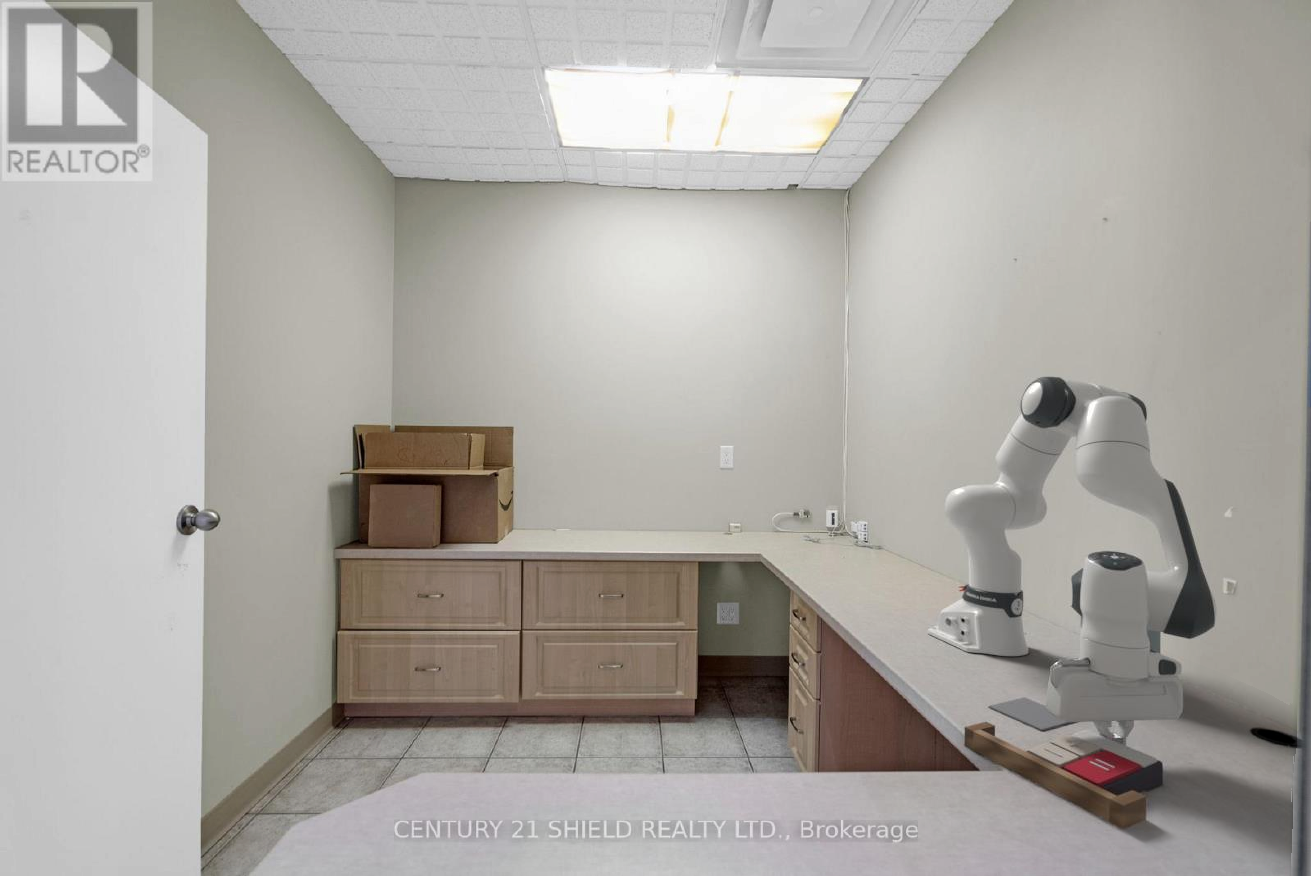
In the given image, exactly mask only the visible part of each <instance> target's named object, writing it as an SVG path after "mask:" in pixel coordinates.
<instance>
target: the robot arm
mask: <svg viewBox="0 0 1311 876" xmlns="http://www.w3.org/2000/svg"><path fill="white" fill-rule="evenodd" d="M1147 411H1148V410H1147V407H1146V405H1145V403H1144V401H1142V400H1141V399H1140V398H1139V397H1137V396H1134V395H1133V394H1131V393H1128V392H1125V391H1118V390H1115V389H1112V388H1110V387H1107V386H1103V385H1099V384H1096V383H1091V382H1090V383H1088V382H1083V381H1079V380H1070V379H1064V378H1062V377H1059V376H1057V377H1056V376H1040V377H1038V378H1036V379H1035V380H1033V381H1032V382H1031V383H1030V384H1029V385H1028V386H1027V387H1026V388H1025V390H1024V392H1023V394H1022V396H1021V399H1020V412H1021V413H1020V415H1019V416H1018V418H1017V419H1016V421H1015V422H1014V424H1013V425H1012V427H1011V429H1010V431H1009V432H1008V433H1007V436H1006V437H1005V439H1004V441H1003V443H1002V444H1001V446H1000V448H999V449H998V451H997V453H996V455H995V464H996V466H997V468H998V469H999V470H1000V474H999V478H998V479H997V481H995V482H994V483H993V484H970V485H965V486H962V487H958V488H955V489H953V490H951V491H950V492H949V493H948V494H947V496H946V498H945V501H944V512H945V516H946V518H947V520H948V521H949V523H950V524H951V525H952V526H953V527H954V528H956V529H957V530H958V532H959V533H960V534H961V538H962V539H963V542H964V544H965V547H966V550H967V558H968V583H967V584H965V585H961V586H958V588H960V589H958V591H959V592H963V594H962V596H961V598H960V599H958V600H957V601H955V602H954V603H953V602H952V603H951V604H949V605H948V606H946V607H944V608H943V609H942V610H941V611H940V614H939V615H938V619H937V620H938V621H937V625H934V626H931V627H929V628H928V629H927V634H928V635H931V637H932V636H933V637H935V638H936V639H939V640H941V641H942V642H945V643H948V644H949V645H952V646H953V647H956V648H958V649H960V650H962V651H964V652H967V653H975V654H987V655H994V656H999V657H1001V656H1002V657H1020V656H1025V655H1027V654H1029V647H1028V645H1027V641H1026V637H1025V631H1024V624H1023V610H1024V591H1023V590H1022V559H1021V556H1020V555H1019V554H1018V553H1017V552H1016V550H1013V549H1012V548H1011V546H1010V545H1009V542H1008V540H1007V537H1006V531H1009V530H1010V531H1013V530H1014V531H1015V530H1023V529H1027V528H1030V527H1034V526H1036V525H1038V524H1039V523H1041V522H1042V521H1044V519H1045V517H1046V514H1047V511H1048V510H1047V509H1048V508H1047V501H1046V499H1045V496H1044V495H1043V489H1044V486H1045V482H1046V479H1047V477H1048V476H1049V474H1050V473H1051V471H1052V469H1053V468H1054V466H1055V464H1056V463H1057V462H1058V460H1059V458H1060V456H1061V455H1062V453H1063V451H1064V450H1065V449H1066V447H1067V446H1068V443H1069V442H1070V440H1071V438H1072V437H1073V438H1075V449H1074V451H1075V453H1074V459H1075V461H1074V462H1075V463H1074V464H1075V470H1076V471H1075V473H1076V478H1077V480H1078V482H1079V483H1080V485H1081V486H1082V487H1083V488H1084V489H1085V490H1086V491H1087V492H1089V494H1091V495H1093V496H1094V497H1096V498H1097V499H1100V500H1101V501H1103V502H1105V503H1108V504H1111V505H1114V506H1117V507H1120V508H1122V509H1126V510H1128V511H1131V512H1134V513H1136V514H1138V515H1140V516H1142V517H1144V518H1146V519H1147V520H1149V521H1150V522H1151V523H1152V524H1154V526H1155V527H1156V529H1157V531H1158V533H1159V536H1160V540H1161V545H1162V548H1163V551H1164V557H1165V559H1166V563H1167V567H1168V569H1167V570H1165V571H1157V570H1156V571H1155V570H1147V568H1146V566H1145V565H1146V564H1145V563H1144V561H1143V560H1142V559H1141V558H1139V557H1138V556H1134V555H1133V554H1130V553H1129V554H1128V553H1127V552H1121V551H1113V550H1102V551H1096V552H1095V551H1094V552H1092V553H1089V554H1087V556H1086V557H1085V560H1084V564H1083V567H1082V568H1080V569H1079V570H1077V572H1075V573H1074V574H1073V575H1072V576H1071V578H1070V579H1071V589H1072V591H1071V592H1072V596H1071V597H1072V600H1071V601H1072V602H1071V606H1070V607H1071V608H1072V609H1073V611H1075V612H1076V613H1077V614H1078V615H1079V616H1080V618H1081V617H1083V623H1082V627H1081V626H1080V630H1079V658H1060V659H1058V661H1057V662H1054V663H1053V665H1051V666H1050V669H1049V678H1048V683H1047V691H1046V697H1045V706H1046V708H1047V710H1048V711H1049V712H1050V714H1052V715H1053V716H1055V717H1056V718H1058V719H1059V720H1061V721H1063V722H1073V723H1083V722H1084V723H1089V722H1092V723H1093V724H1094V727H1095V728H1096V730H1097V731H1098V733H1099V735H1101V736H1103V737H1106V738H1108V739H1110V740H1113V741H1115V742H1118V743H1120V744H1123V745H1125V746H1127V738H1128V737H1129V735H1130V733H1131V732H1132V731H1133V729H1134V726H1135V721H1153V720H1154V721H1156V720H1157V721H1159V720H1160V721H1163V720H1177V719H1179V717H1180V716H1181V715H1182V713H1183V709H1184V695H1183V693H1184V691H1183V689H1184V688H1183V684H1182V680H1181V678H1180V677H1179V676H1180V675H1181V674H1182V670H1183V669H1182V666H1183V665H1182V663H1181V662H1180V661H1178V660H1176V659H1174V658H1172V657H1169V656H1167V655H1164V654H1162V653H1161V652H1160V653H1157V652H1155V651H1152V650H1150V642H1149V638H1148V635H1147V630H1151V631H1158V632H1161V633H1162V634H1165V635H1170V636H1175V637H1179V638H1183V639H1188V640H1190V639H1191V640H1192V639H1194V638H1197V637H1199V636H1202V635H1203V634H1205V633H1207V632H1208V631H1210V630H1211V629H1213V628H1215V627H1214V626H1215V623H1216V618H1217V604H1216V600H1215V597H1214V595H1213V592H1212V590H1211V588H1210V585H1209V584H1208V581H1207V577H1206V575H1205V573H1204V569H1203V567H1202V563H1201V560H1200V557H1199V554H1198V553H1199V552H1198V550H1197V546H1196V543H1195V538H1194V535H1193V532H1192V528H1191V525H1190V523H1189V519H1188V515H1187V512H1186V509H1185V506H1184V504H1183V500H1182V497H1181V495H1180V493H1179V490H1178V489H1177V487H1176V485H1175V484H1174V483H1173V482H1172V481H1170V480H1168V479H1166V478H1163V477H1162V476H1161V475H1160V474H1159V472H1158V471H1157V470H1156V468H1155V466H1154V465H1153V463H1152V458H1151V444H1150V438H1149V433H1148V432H1149V431H1148V425H1147V419H1148V418H1147V417H1148V413H1147ZM1112 722H1116V725H1115V726H1114V729H1113V731H1110V729H1109V728H1112V726H1113V725H1112V724H1113V723H1112Z"/></svg>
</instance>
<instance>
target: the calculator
mask: <svg viewBox="0 0 1311 876" xmlns="http://www.w3.org/2000/svg"><path fill="white" fill-rule="evenodd" d="M1025 751H1026V752H1028V753H1030V754H1032V755H1034V756H1036V757H1038V758H1040V759H1042V760H1044V761H1046V762H1048V763H1050V764H1052V765H1055V766H1057V767H1059V768H1061V769H1063V770H1065V771H1067V772H1069V773H1071V774H1073V775H1075V776H1077V777H1079V778H1081V779H1083V780H1085V781H1087V782H1089V783H1092V784H1094V785H1096V786H1098V787H1100V788H1102V789H1104V790H1106V791H1108V792H1110V793H1112V794H1114V795H1116V796H1118V795H1121V794H1123V793H1126V792H1129V791H1131V790H1133V791H1136V792H1138V793H1140V794H1142V793H1143V792H1150V791H1152V790H1156V789H1158V788H1160V787H1163V786H1164V773H1163V772H1164V769H1163V768H1164V767H1163V762H1162V761H1161V760H1159V759H1157V758H1156V757H1153V756H1152V755H1149V754H1146V753H1144V752H1142V751H1140V750H1137V749H1135V748H1132V747H1130V746H1127V745H1126V746H1125V745H1123V744H1120V743H1118V742H1115V741H1113V740H1110V739H1108V738H1106V737H1103V736H1101V735H1100V734H1098V733H1096V732H1093V731H1091V730H1088V729H1082V730H1080V731H1077V732H1074V733H1072V734H1066V735H1063V736H1061V737H1058V738H1055V739H1053V740H1050V742H1045V743H1042V744H1039V745H1037V746H1034V747H1031V748H1028V750H1025Z"/></svg>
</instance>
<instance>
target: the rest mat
mask: <svg viewBox="0 0 1311 876" xmlns="http://www.w3.org/2000/svg"><path fill="white" fill-rule="evenodd" d="M988 709H991V710H993V711H995V712H997V713H999V714H1002V715H1004V716H1006V717H1009V718H1011V719H1014V720H1016V721H1017V722H1020V723H1022V724H1024V725H1027V726H1029V727H1031V728H1034V729H1036V730H1038V731H1040V732H1043V731H1047V730H1051V729H1054V728H1058V727H1062V726H1065V725H1069V724H1072V723H1074V722H1063V721H1061V720H1059V719H1058V718H1056V717H1055V716H1053V715H1052V714H1050V712H1049V711H1048V710H1047V708H1046V704H1045V705H1044V704H1042V703H1039V702H1037V701H1035V700H1032V699H1029V698H1028V697H1020V698H1015V699H1012V700H1007V701H1003V702H999V703H996V704H991V705H988Z"/></svg>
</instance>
